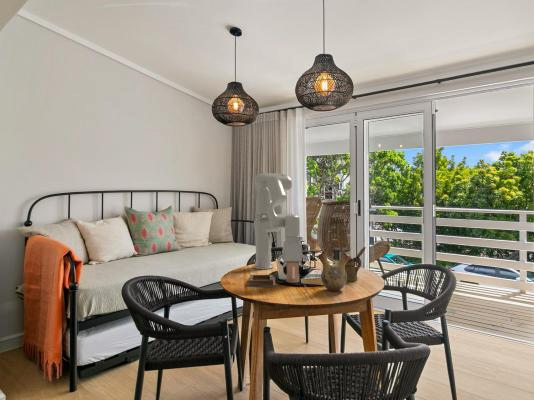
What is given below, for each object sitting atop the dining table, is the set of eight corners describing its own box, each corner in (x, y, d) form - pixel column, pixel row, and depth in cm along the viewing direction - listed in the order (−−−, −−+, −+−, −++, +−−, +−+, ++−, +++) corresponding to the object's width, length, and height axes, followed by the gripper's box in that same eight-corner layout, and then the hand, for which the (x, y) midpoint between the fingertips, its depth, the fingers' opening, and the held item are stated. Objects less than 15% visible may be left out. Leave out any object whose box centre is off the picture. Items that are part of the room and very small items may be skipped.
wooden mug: (366, 282, 173) (366, 248, 172) (340, 281, 175) (340, 247, 175) (364, 278, 182) (364, 245, 181) (339, 277, 184) (339, 244, 183)
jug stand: (248, 280, 180) (248, 272, 180) (274, 279, 180) (274, 272, 180) (246, 291, 160) (246, 283, 160) (275, 290, 160) (275, 282, 160)
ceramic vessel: (316, 292, 157) (316, 239, 156) (316, 287, 166) (316, 237, 165) (352, 293, 155) (352, 240, 154) (350, 287, 164) (350, 237, 163)
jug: (285, 279, 173) (285, 260, 173) (298, 279, 173) (298, 260, 173) (286, 284, 164) (286, 264, 164) (300, 284, 164) (300, 264, 164)
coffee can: (330, 273, 193) (330, 249, 193) (335, 269, 202) (335, 246, 202) (348, 275, 188) (348, 250, 188) (352, 271, 198) (352, 247, 197)
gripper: (308, 238, 173) (308, 272, 174) (275, 238, 173) (275, 272, 174) (310, 240, 166) (310, 275, 166) (275, 240, 166) (275, 276, 166)
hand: (292, 273), depth 170 cm, fingers closed on jug, 6 cm apart
